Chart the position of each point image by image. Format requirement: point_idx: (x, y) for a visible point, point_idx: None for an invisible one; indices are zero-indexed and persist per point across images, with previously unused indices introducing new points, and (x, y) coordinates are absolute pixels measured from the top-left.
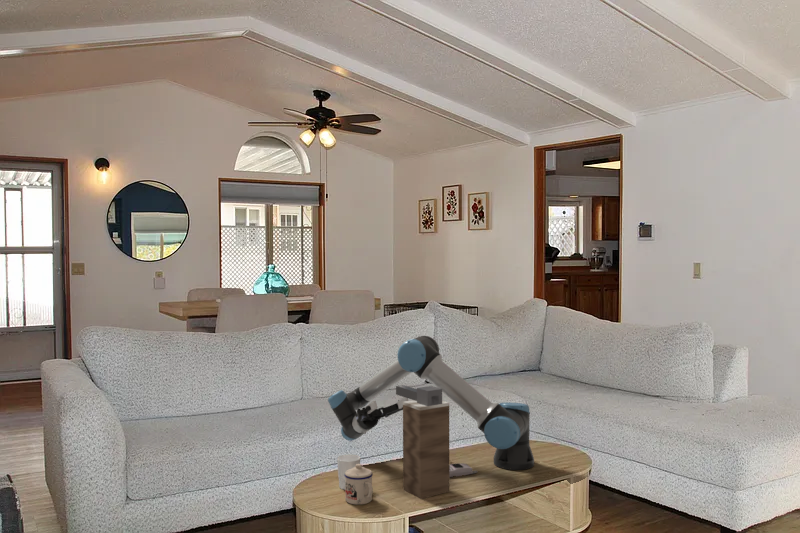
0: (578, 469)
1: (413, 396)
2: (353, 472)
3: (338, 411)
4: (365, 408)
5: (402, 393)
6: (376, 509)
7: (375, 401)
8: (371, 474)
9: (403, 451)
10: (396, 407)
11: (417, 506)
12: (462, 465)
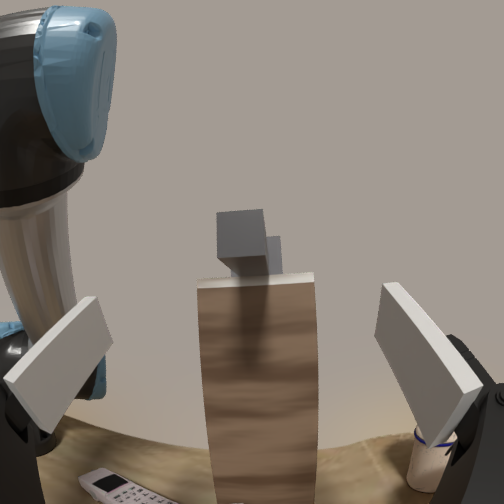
0: None
1: (268, 262)
2: None
3: None
4: (474, 367)
5: (266, 251)
6: (405, 450)
7: (384, 289)
8: (417, 424)
9: (317, 425)
10: (20, 440)
11: (330, 451)
12: (100, 477)
